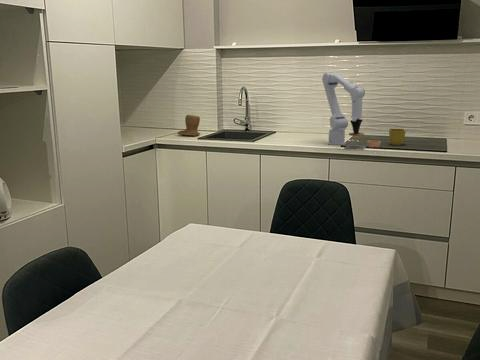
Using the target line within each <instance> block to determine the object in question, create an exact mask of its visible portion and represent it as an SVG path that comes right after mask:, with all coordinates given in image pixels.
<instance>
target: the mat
mask: <svg viewBox="0 0 480 360" xmlns="http://www.w3.org/2000/svg"><path fill="white" fill-rule="evenodd" d="M364 148H365V149H366V148H368V147H367V145H354V144H347V145H346V146H345V147H344V148H343V149H346V150H360V151H361V150H365V149H364Z"/></svg>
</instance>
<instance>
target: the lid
mask: <svg viewBox="0 0 480 360" xmlns="http://www.w3.org/2000/svg"><path fill="white" fill-rule="evenodd" d="M364 135H365V133H364V132H360V129H359V128H358V132H357V133H354V132H349V133H348V136H352V137H354V136H355V137H359V136H360V137H361V136H364Z"/></svg>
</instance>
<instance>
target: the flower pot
mask: <svg viewBox="0 0 480 360" xmlns="http://www.w3.org/2000/svg"><path fill="white" fill-rule="evenodd" d="M388 132H389V133H388V135H389V136H388V137H389V141H390V144H391V145H392V146H402V144H403V143H404V141H405V136H406V133H407V132H406V130H405V128H389V129H388Z"/></svg>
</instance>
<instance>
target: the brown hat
mask: <svg viewBox="0 0 480 360" xmlns="http://www.w3.org/2000/svg"><path fill="white" fill-rule="evenodd" d="M200 120H201V117H200V116H199V115H193V114H192V115H191V114H186V115H185V129H184V130H179V131H178V132H177V133H176V134H177V135H179V136H187V137H194V136H195V137H196V136H200V135H201V132H199V131H198V129H199V125H200V122H201V121H200Z"/></svg>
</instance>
